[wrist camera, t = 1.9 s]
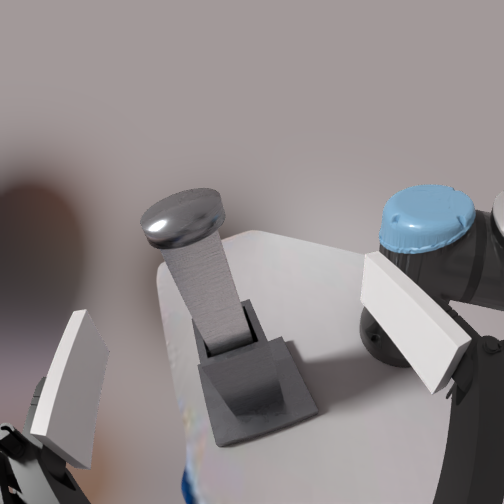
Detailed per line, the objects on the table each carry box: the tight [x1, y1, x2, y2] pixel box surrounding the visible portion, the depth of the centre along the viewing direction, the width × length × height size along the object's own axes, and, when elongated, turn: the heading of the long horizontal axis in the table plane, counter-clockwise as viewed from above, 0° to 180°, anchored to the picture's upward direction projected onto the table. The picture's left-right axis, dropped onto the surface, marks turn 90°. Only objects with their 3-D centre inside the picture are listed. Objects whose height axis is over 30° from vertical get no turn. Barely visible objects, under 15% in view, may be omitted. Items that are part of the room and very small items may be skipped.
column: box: [140, 188, 254, 357], centre depth 29 cm, size 6×6×28 cm
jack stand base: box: [192, 299, 318, 447], centre depth 33 cm, size 14×14×16 cm
